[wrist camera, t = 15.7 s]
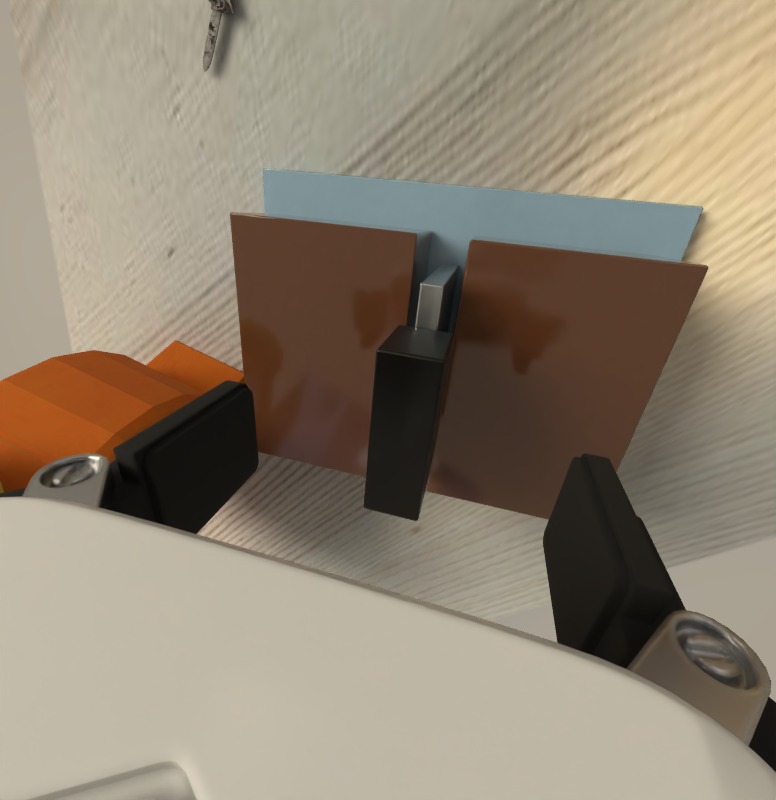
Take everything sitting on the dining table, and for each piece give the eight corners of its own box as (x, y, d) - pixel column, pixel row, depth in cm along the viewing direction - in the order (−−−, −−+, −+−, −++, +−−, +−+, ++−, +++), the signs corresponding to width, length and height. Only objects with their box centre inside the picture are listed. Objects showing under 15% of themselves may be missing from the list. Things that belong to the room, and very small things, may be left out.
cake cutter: (471, 266, 18) (454, 306, 10) (442, 424, 22) (412, 553, 14) (431, 261, 19) (380, 295, 10) (410, 417, 23) (360, 539, 14)
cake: (698, 207, 16) (778, 201, 11) (577, 499, 23) (599, 564, 19) (267, 169, 19) (202, 153, 15) (278, 433, 26) (237, 475, 22)
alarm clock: (227, 496, 31) (-128, 869, 13) (160, 464, 31) (-277, 786, 13) (258, 357, 24) (-352, 713, 7) (174, 317, 24) (-627, 559, 7)
